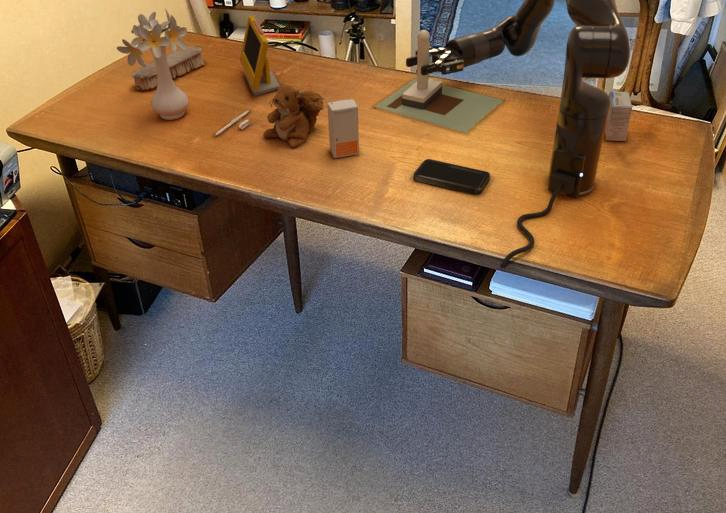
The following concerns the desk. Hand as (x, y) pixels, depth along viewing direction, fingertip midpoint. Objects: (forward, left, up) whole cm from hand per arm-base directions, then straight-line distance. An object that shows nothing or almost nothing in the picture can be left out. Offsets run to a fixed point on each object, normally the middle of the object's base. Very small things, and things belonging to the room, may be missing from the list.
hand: (414, 67), depth 173 cm
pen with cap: (-33, +30, -10) cm, 45 cm away
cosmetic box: (-30, 0, -10) cm, 31 cm away
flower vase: (-38, +48, -10) cm, 62 cm away
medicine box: (+10, -48, -10) cm, 50 cm away
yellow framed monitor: (-12, +41, -10) cm, 44 cm away
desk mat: (+2, -6, -9) cm, 11 cm away
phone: (-27, -26, -9) cm, 38 cm away
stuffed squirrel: (-29, +15, -10) cm, 34 cm away
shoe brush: (-21, +67, -10) cm, 71 cm away
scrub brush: (+2, -1, -9) cm, 10 cm away
